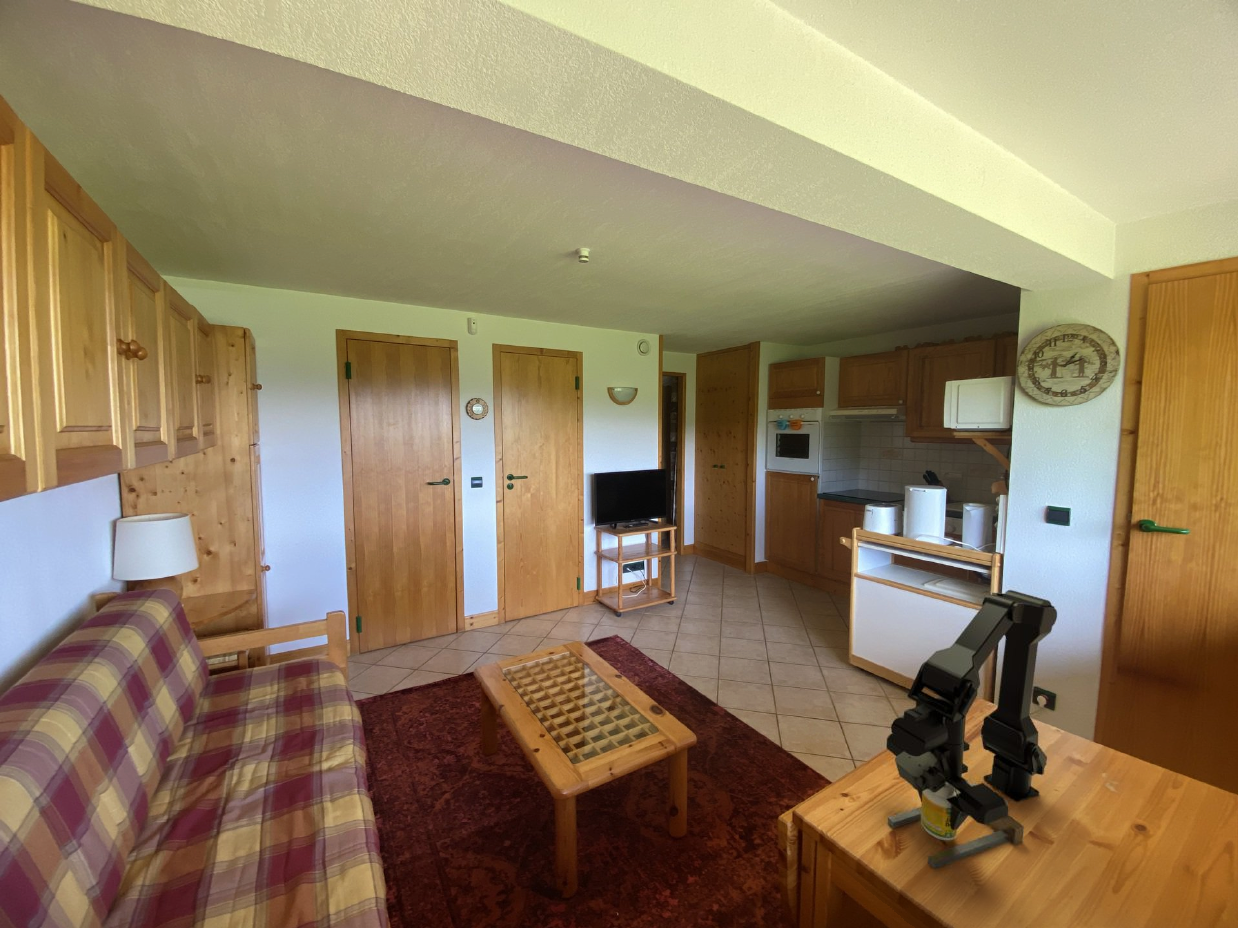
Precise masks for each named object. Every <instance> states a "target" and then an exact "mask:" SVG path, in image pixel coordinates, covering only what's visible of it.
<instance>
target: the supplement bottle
mask: <svg viewBox="0 0 1238 928" xmlns="http://www.w3.org/2000/svg"><path fill="white" fill-rule="evenodd" d="M953 796H956V793H955V788H954V787H953V786H952V785H947V784H946V783H945V786H944V787H943V788H941V789H940V790H938V791H937V792H935V793H934V792H932V791H931V790H929V789H926V790H924V791H922V802H921V806H920V807H921V820H920V822H921V825H922V828H923V829H924V830H925V831H926V832H927V833H928V834H929V835H931V836H932V837H934V838H936V839H938V840H941V841H953V840H954V839H955V838H956V837H957V832H958V829H956V830H952V829H951V823H950V819H951V804H950V803H949V802H948V801H947V800H946V799H947V798H950V797H953Z"/></svg>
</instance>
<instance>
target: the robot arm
mask: <svg viewBox="0 0 1238 928" xmlns="http://www.w3.org/2000/svg"><path fill="white" fill-rule="evenodd" d="M981 606H982V607H981V608H980V609H979V610H978V612H977V613H976V614H975V616H973V618H972V619H971V621H970V622H969V623H968V625H966V627H965V629H964V630H963V631H962V632H961V633H960V635H959V636H958V637H957V638H956V640H955V641H954V642H953V643H952V644H951V646H949V647H947V648H942V649H940V650H936V651H934V653H933V654H932V655H931V656H930V657H929V658H928V659H926V661H924V662H923V663H922V664H921V665H920V667H919V669H918V672H917V675H916V676H915V678H914V680H913V683H912V685H911V687H910V690H909V691H908V694H907V698H908V699H909V700H912V701H914V702H915V707H913V708H908V709H906V710H904V712H903V715H901V716H899V717H897V718H895V719H894V720H893V721H892V724H891V725H890V726H891V727H890V729H891V731H890V732H891V733H889V735H888V736H887V737H886V749H887V750H889V752H891V753H892V755H894V756H895V758H894V761H895V765H896V768H897V772H898V775H899V777H901V779H903V780H905V782H907V783H908V784H909V785H910V786H912V789H914V790H916V791H917V793H918V797H919V799H920V802H921V803H922V791H924V790H926V789H929V790H931V791H932V792H934V793H935V792H937V791H938V790H940V789H941V788H943V787H944V786H945V783H946V784H947V785H952V786H953V787H954V788H956V789H957V792H956V793H957V794H956V796H953V797H950V798H947V799H946V800H947V801H948V802H949V803H950V804H951V819H950V823H951V829H952V830H956V829H957V830H958V829H959V827H961V826H962V824H963V823H964V822H965V820H966V819H967V818H968V817H970V818H972V819H973V820H974V821H975V822H976V823H978V824H981V825H988V824H987V823H990V822H993V821H996V820H999V819H1001V818H1004V817H1007V816H1008V815H1009V802H1008V801H1007V799H1005V798H1004V797H1003V796H1001V795H1000V794H999V793H997V792H996V791H995V790H993V788H990V787H989V786H988V785H986V784H985V783H984V782H981V783H979V784H977V783H974V782H969V781H968V780H966V779H965V778H964V777H963V774H966V773H968V771H969V766H968V765H966V764H965V763H963V762H964V752H968V751H970V747H971V746H970V743H968V742H967V741H965V734H966V721H967V720H966V718H967V714H968V713H969V711H970V710H971V708H972V707H973V706H972V705H973V704H974V702H975V700H976V698H977V697H978V691H979V690H978V689H979V688H980V686H981V680H980V672H979V671H980V670H981V668H982V666H983V664H985V662H986V661H987V659H988V658H989V657H990V656H991V654H992V652H993V651H994V650H995V648H997V646H998V644H1000V642H1001V640H1002V639H1003V638H1004V637H1005V641H1004V649H1003V656H1002V664H1001V665H1002V666H1001V674H1000V675H1001V676H1000V683H999V690H998V691H999V692H998V698H997V699H998V701H997V707H996V709H995V710H993V711H992V712H991V713H989V714H988V715H986V716H985V717H984V718H983V722H982V723H983V724H982V725H981V729H980V736H981V742H982V748H983V750H985V751H988V752H989V753H991V754H992V755H993V758H992V759H993V760H992V761H993V763H992V766H991V773H989V774H986V775H983V780H985V782H986V783H988V784H990V785H991V786H993V787H994V788H995V789H996V790H998V791H1000V792H1001V793H1002V794H1003V795H1005V796H1007V797H1008V798H1009V799H1010V800H1012V801H1013V802H1015V803H1019V802H1023V801H1025V800H1028V799H1031V798H1034V797H1037V796H1039V795H1040V791H1039V790H1038V789H1036V788H1035V787H1033V786H1032V777H1033V776H1035V775H1041V776H1043V775H1045V768H1046V766H1047V760H1048V755H1046V754H1045V752H1044V751H1043V749H1042V748H1041V747H1040V745H1039V731H1038V729H1037V727H1036V725H1035V724H1034V722H1033V720H1032V718H1031V716H1030V712H1031V703H1032V694H1033V686H1034V679H1035V678H1034V677H1035V671H1036V664H1037V663H1036V662H1037V656H1038V654H1037V653H1038V647H1039V642H1041V641H1042V640H1043V639H1045V637H1046V636H1048V635H1049V634H1051V633H1052V630H1053V626H1054V625H1055V624H1056V622H1057V618H1058V610H1057V609H1056V608H1055V606H1054V605H1052V603H1051V601H1050V600H1048V599H1045V598H1041V597H1037V596H1034V595H1031V594H1030V595H1029V594H1026V593H1024V592H1019V591H1017V590H1012V589H1008V590H1006V591H1005V592H1004V593H1003V592H992V593H991V594H987V595H986V596H984V598H983V600H982V605H981ZM924 689H925V690H926V691H927V690H928V692H930V693H933V694H935V695H937V696H932V695H930V694H928V693H926V692H924V691H923V690H924Z"/></svg>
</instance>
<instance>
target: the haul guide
mask: <svg viewBox="0 0 1238 928" xmlns="http://www.w3.org/2000/svg"><path fill="white" fill-rule="evenodd" d="M956 792H957V789H956V788H955V793H956ZM956 794H957V793H956ZM921 807H922V806H919V807H915V808H912V809H910V810H906V811H904V812H900V813H897V814H894V815H891V816H888V817H887V824H888V826H890V827H891V828H892V829H896V828H899V827H902V826H906V825H908V824H911V823H914V822H917V821H921ZM986 825H988V826H990V828H992V829H993V830H994V831H995V832H992V833H989V834H987V835H984V836H981V837H979V838H975V839H972V840H970V841H967V842H965V843H961V844H958V845H955V846H953V847H951V848H949V849H948V848H947V849H945V850H942V851H940V852H937V853H934V854H931V855H928V856H927V864H928V865H929V866H930V867H931V868H932V869H933V870H936V869H940V868H941V867H944V866H947V865H950V864H952V863H955V862H957V861H960V860H963V859H966V858H968V857H972V856H974V855H976V854H980V853H982V852H985V851H988V850H990V849H992V848H996V847H998V846H1000V845H1003V844H1007V843H1008V842H1009V843H1011V844H1012V845H1013V846H1016V845H1018V844H1022V843H1023V840H1024V829H1025V826H1024V825H1023V824H1021V823H1020V822H1018V821H1017V820H1016V819H1015V818H1013V817H1011V815H1009V814H1008V816H1007V817H1004V818H1001V819H999V820H996V821H993V822H990V823H987V824H986Z"/></svg>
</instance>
